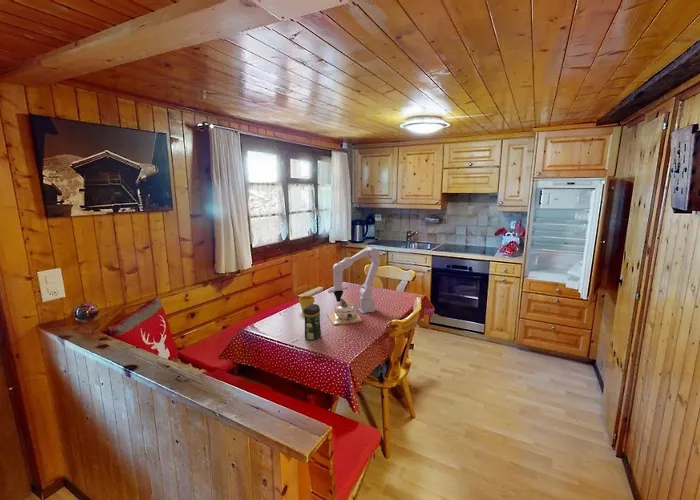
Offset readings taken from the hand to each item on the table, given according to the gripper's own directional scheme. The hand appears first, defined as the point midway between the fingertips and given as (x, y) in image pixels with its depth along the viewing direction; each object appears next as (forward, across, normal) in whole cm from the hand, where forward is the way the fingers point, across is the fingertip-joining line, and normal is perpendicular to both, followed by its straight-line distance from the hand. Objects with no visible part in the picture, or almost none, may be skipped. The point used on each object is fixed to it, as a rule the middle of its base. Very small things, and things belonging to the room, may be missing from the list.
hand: (338, 301), depth 218 cm
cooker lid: (+2, 0, +7) cm, 7 cm away
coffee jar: (+9, +32, +20) cm, 39 cm away
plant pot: (+9, +14, -17) cm, 24 cm away
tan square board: (+8, +1, +7) cm, 11 cm away
